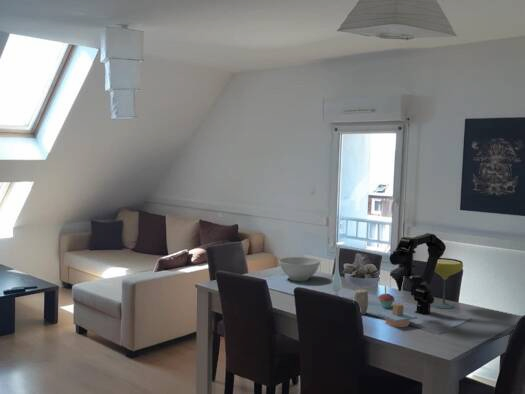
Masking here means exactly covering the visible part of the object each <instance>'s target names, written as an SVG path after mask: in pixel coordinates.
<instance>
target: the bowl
mask: <svg viewBox="0 0 525 394" xmlns="http://www.w3.org/2000/svg"><path fill="white" fill-rule="evenodd" d="M410 321H411V319H410V320H404V321H398V322H395V321H393V320H391V319H388V318H386V317H385V323H386V324H387V325H388V326H390V327H396V328H405V327H406V328H407V327H408V326H410V325H411V322H410Z"/></svg>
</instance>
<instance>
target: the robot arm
mask: <svg viewBox="0 0 525 394" xmlns="http://www.w3.org/2000/svg"><path fill="white" fill-rule="evenodd" d="M420 245H421V246H422V245H426V246H427V253H428V257H427V261H426V264H425V266H424V270H423V273H422V276H421V275H415V272H413V270H414V269H413V268H415V266H416V265H415V264H414V254H416V253H417V252H416V250H415V249H417V248H418V246H420ZM446 248H447V247H446V244H445V242H444V241H443V240H442V239H440V238H439V237H437V235H436V234H434V233H429V232H427V233H425V234H421V235H416V236H413V237H412V236H411V237H410V236H403V237H401V238H400V240H399V241H398V243H397V245H396V248H395V249H394V250H393V251H392V253H391V254H390V256H389V262H390V264H391V265H393V266H395V265H396V266H397V265H398V267H397V268H394V269H393V270H391V271H390V272H389V273H390V274H389V276H390V277H391V278H392V279H394V281H395V283H396V287H397V289H398V291H399V292H401V291H402V288H403V285H404V279H408V281H409V282H408V284H409V286H410V295H411V296H413V299H414V301H415V302H416V310H414V313H415V314H420V315H423V316H425V315H432V314H433V313H432V312H431V305H432V304H434V302H435V298H434V296H433V294H432V287H431V283H432V281H433V278H434V273H435V272H434V271H435V268H436V264H437V261H438V259H439V258H442V256H443V255H444V253H445V251H446Z"/></svg>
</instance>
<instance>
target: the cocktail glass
mask: <svg viewBox="0 0 525 394" xmlns="http://www.w3.org/2000/svg"><path fill="white" fill-rule="evenodd" d="M463 267H464V264H463V261H462V260H459V259H455V258H449V257H447V258H445V257H440V258H439V259H438V261H437V264H436V268H435V271H434V273H436V274H437V275H439V276H440V277H441V279H442V280H443V292H442V293H443V297H442V302H435V303H432V304H433V307H435V308H438V309H444V310H445V309H446V310H447V309H449V310H451V309H454V308H455V306H454V305H453V304H450V303H447V302H446V298H445V297H446V295H445V293H446V280H448V278H449V277H450V276H453V275H456V274H457V273H459V272H462V270H463Z"/></svg>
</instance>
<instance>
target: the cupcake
mask: <svg viewBox="0 0 525 394" xmlns="http://www.w3.org/2000/svg"><path fill="white" fill-rule="evenodd" d="M378 301H379V302H380V305H381V307H382V308H384V309H390V308H391V306H393V304H394V302H395V297H394V296H393V295H391V293H387V287H386V285H384V293H382V294H380V295H378Z"/></svg>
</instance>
